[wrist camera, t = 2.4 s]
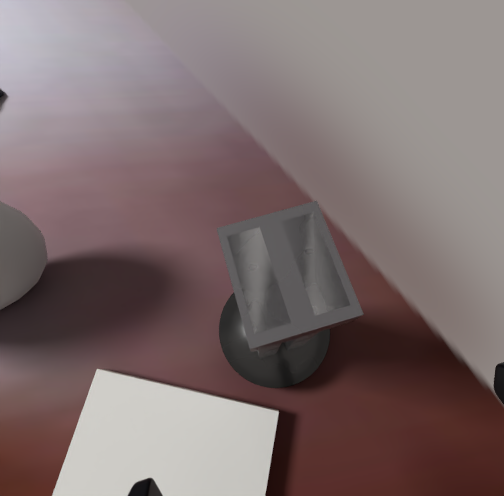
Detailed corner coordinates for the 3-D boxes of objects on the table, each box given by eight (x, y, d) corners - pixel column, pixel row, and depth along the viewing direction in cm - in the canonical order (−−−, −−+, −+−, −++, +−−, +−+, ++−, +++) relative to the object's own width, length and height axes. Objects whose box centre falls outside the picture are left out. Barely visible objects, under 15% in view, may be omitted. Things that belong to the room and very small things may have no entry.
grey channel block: (304, 270, 21) (352, 145, 10) (340, 368, 19) (455, 354, 8) (211, 297, 20) (148, 199, 9) (237, 401, 18) (195, 437, 7)
